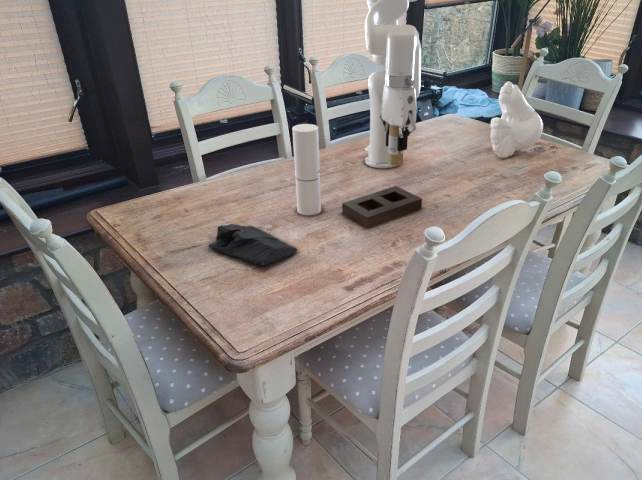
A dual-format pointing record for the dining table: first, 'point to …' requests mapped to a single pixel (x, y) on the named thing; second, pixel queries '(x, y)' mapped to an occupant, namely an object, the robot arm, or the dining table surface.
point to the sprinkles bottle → (394, 145)
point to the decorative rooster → (514, 123)
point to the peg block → (381, 206)
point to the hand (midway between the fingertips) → (396, 147)
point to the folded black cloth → (250, 244)
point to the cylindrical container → (307, 168)
